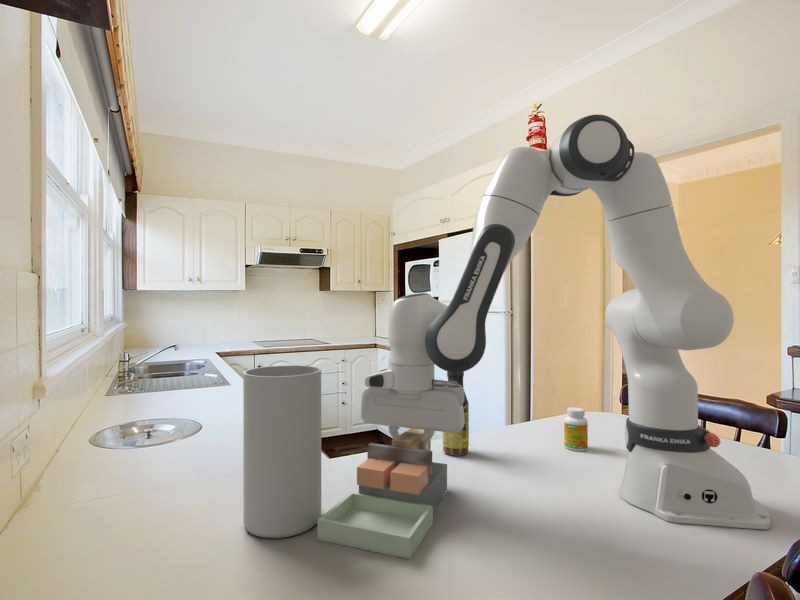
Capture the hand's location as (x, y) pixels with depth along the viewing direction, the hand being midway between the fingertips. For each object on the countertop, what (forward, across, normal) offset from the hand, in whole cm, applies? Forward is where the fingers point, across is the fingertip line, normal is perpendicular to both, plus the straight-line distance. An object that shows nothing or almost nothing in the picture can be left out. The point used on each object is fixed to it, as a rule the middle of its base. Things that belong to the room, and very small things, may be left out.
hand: (411, 450), depth 87 cm
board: (+8, 0, +4) cm, 9 cm away
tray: (+8, 0, +16) cm, 18 cm away
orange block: (+3, +3, +9) cm, 10 cm away
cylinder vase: (+8, +16, +19) cm, 26 cm away
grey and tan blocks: (+2, 0, 0) cm, 2 cm away
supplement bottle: (+8, -29, -40) cm, 50 cm away
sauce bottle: (+8, -2, -25) cm, 27 cm away
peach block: (+3, -3, +9) cm, 10 cm away
